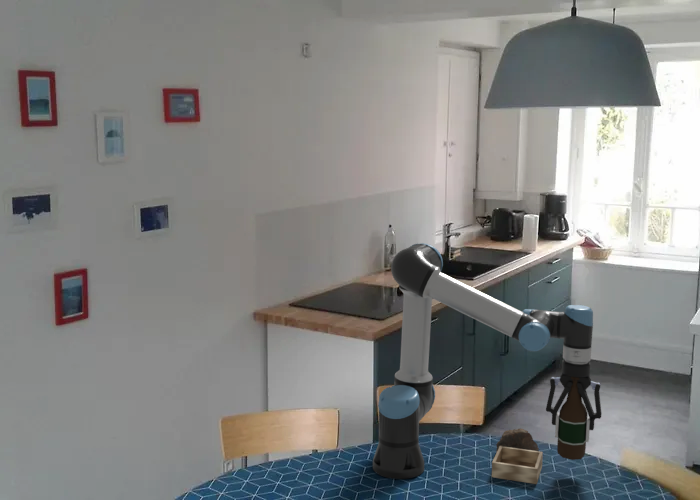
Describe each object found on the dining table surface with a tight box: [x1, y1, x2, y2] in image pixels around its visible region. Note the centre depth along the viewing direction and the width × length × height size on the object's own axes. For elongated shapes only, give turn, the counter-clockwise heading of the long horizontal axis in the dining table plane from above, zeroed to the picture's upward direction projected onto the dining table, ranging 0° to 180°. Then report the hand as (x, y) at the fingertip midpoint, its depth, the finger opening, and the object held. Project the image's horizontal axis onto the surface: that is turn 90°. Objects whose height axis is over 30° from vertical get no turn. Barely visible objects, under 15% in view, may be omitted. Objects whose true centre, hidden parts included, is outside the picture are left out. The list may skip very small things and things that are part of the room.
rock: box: [495, 428, 540, 453], centre depth 230 cm, size 14×9×10 cm
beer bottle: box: [556, 377, 588, 461], centre depth 212 cm, size 8×8×24 cm
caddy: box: [491, 446, 544, 485], centre depth 216 cm, size 13×13×4 cm
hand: (571, 437), depth 212 cm, fingers closed on beer bottle, 8 cm apart
